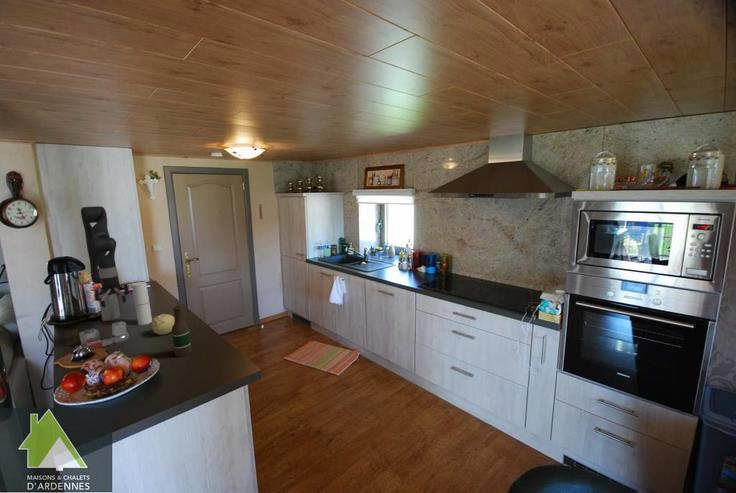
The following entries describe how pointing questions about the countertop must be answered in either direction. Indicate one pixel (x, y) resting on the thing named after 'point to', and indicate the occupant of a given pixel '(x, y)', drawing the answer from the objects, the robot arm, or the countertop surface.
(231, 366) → the countertop surface
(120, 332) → the socket
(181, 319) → the beer bottle
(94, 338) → the socket
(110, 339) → the wine glass
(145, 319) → the cylindrical container
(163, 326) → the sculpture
